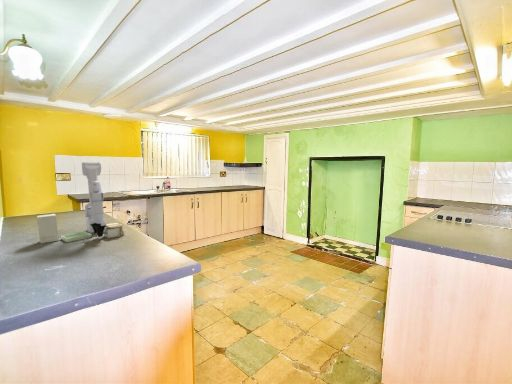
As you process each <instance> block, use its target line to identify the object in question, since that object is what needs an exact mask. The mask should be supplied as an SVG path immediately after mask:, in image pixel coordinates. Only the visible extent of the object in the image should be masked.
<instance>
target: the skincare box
mask: <svg viewBox="0 0 512 384" xmlns="http://www.w3.org/2000/svg"><path fill="white" fill-rule="evenodd" d="M36 220H37V221H36V222H37V228H38V236H39V242H40V244H46V242H47V243H53V242H57V241H59V240H60V239H59V233H58V223H57V215H56V213H51V214H50V213H49V214H41V215H37V216H36Z"/></svg>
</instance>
